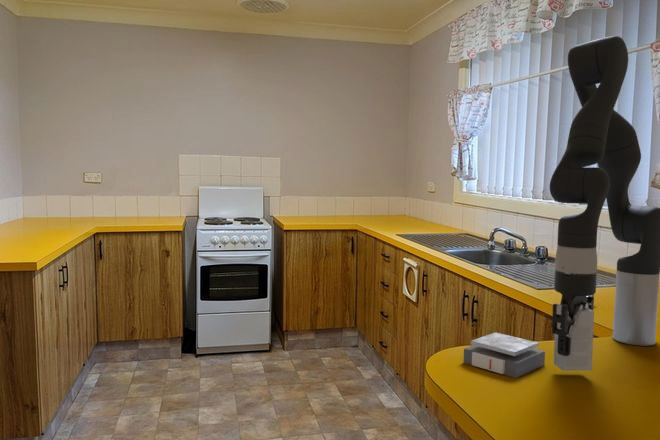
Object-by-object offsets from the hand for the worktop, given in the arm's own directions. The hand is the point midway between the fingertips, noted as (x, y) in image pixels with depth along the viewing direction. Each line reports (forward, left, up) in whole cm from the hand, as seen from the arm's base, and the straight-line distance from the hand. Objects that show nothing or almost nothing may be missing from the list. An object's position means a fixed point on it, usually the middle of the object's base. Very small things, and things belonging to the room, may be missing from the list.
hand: (571, 350), depth 108 cm
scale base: (+4, -12, -5) cm, 14 cm away
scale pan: (+4, -12, -2) cm, 13 cm away
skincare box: (0, 0, -4) cm, 4 cm away
